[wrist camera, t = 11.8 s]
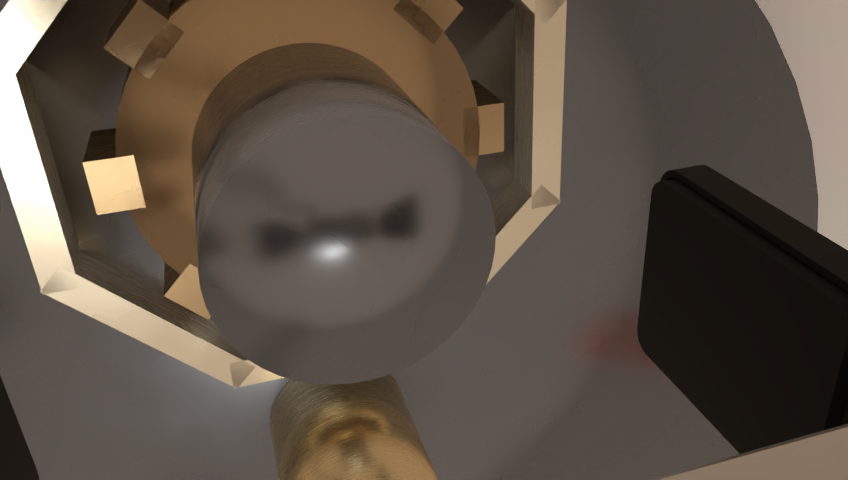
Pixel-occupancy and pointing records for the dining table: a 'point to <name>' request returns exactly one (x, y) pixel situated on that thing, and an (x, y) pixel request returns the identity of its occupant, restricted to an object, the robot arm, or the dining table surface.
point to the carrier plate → (488, 321)
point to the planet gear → (305, 174)
